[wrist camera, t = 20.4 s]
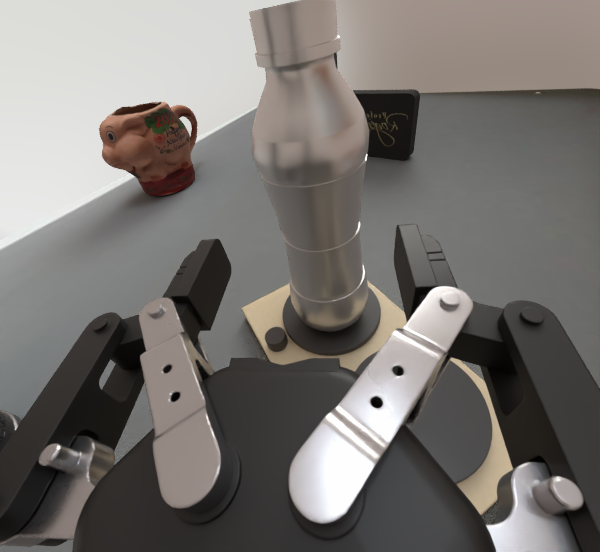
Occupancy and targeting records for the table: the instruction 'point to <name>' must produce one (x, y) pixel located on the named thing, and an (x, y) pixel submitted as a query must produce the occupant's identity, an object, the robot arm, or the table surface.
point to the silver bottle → (312, 159)
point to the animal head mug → (151, 145)
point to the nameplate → (390, 121)
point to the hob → (439, 407)
